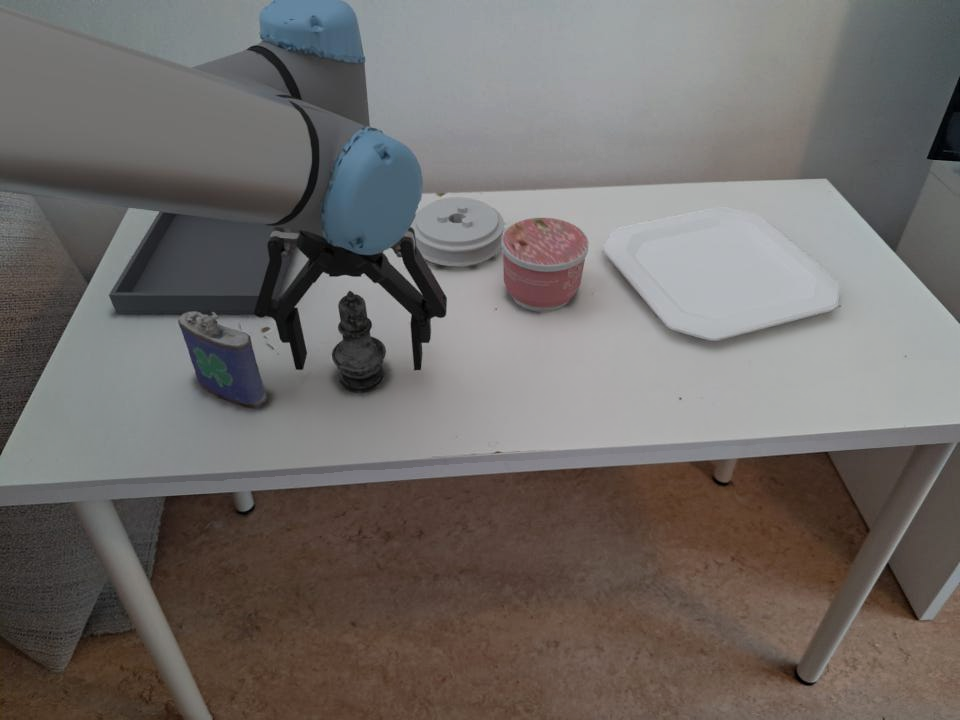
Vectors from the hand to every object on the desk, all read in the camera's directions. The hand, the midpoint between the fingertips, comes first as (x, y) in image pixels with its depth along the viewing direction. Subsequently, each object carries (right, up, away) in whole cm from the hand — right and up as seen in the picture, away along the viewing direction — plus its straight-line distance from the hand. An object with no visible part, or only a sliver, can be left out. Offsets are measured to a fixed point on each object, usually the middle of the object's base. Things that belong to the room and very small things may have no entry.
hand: (360, 361), depth 80 cm
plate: (+44, +11, +16) cm, 48 cm away
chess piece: (0, -2, +2) cm, 3 cm away
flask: (-14, -3, 0) cm, 15 cm away
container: (+21, +9, +13) cm, 26 cm away
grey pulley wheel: (+10, +16, +21) cm, 28 cm away
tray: (-22, +14, +18) cm, 32 cm away
